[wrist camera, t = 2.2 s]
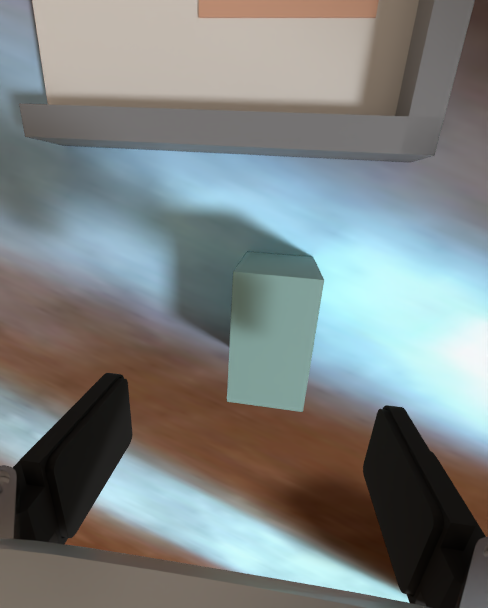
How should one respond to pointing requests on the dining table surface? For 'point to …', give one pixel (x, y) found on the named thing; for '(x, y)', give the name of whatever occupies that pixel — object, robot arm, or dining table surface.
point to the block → (273, 329)
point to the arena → (249, 75)
